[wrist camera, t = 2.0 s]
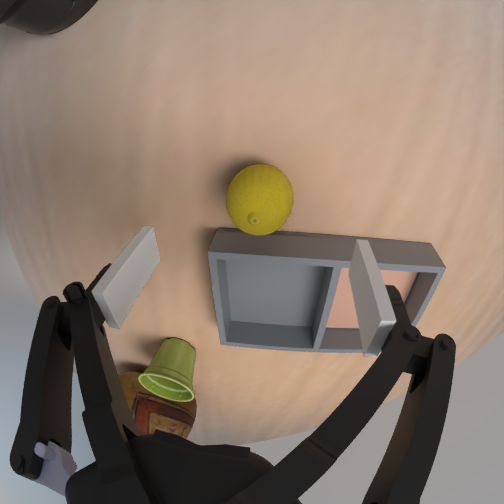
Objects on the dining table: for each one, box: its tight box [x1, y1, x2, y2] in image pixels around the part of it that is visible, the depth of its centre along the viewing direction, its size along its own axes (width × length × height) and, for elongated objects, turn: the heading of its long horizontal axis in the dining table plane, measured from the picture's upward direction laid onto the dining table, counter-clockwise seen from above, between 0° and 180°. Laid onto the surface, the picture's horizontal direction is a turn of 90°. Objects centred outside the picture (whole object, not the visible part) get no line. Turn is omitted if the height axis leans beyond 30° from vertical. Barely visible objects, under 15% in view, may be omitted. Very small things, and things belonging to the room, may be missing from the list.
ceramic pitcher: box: [118, 371, 197, 439], centre depth 44 cm, size 20×20×30 cm
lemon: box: [226, 164, 293, 235], centre depth 23 cm, size 6×6×8 cm
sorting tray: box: [208, 228, 446, 353], centre depth 31 cm, size 15×25×4 cm, turn 90°
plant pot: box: [138, 338, 196, 402], centre depth 41 cm, size 9×9×9 cm
